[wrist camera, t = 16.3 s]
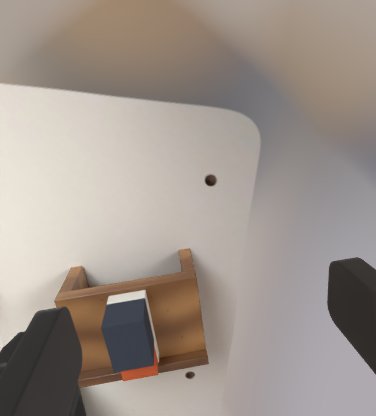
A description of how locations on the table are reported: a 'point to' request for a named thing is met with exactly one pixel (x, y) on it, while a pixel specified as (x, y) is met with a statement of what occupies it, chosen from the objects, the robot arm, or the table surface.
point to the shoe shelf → (160, 313)
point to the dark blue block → (130, 335)
